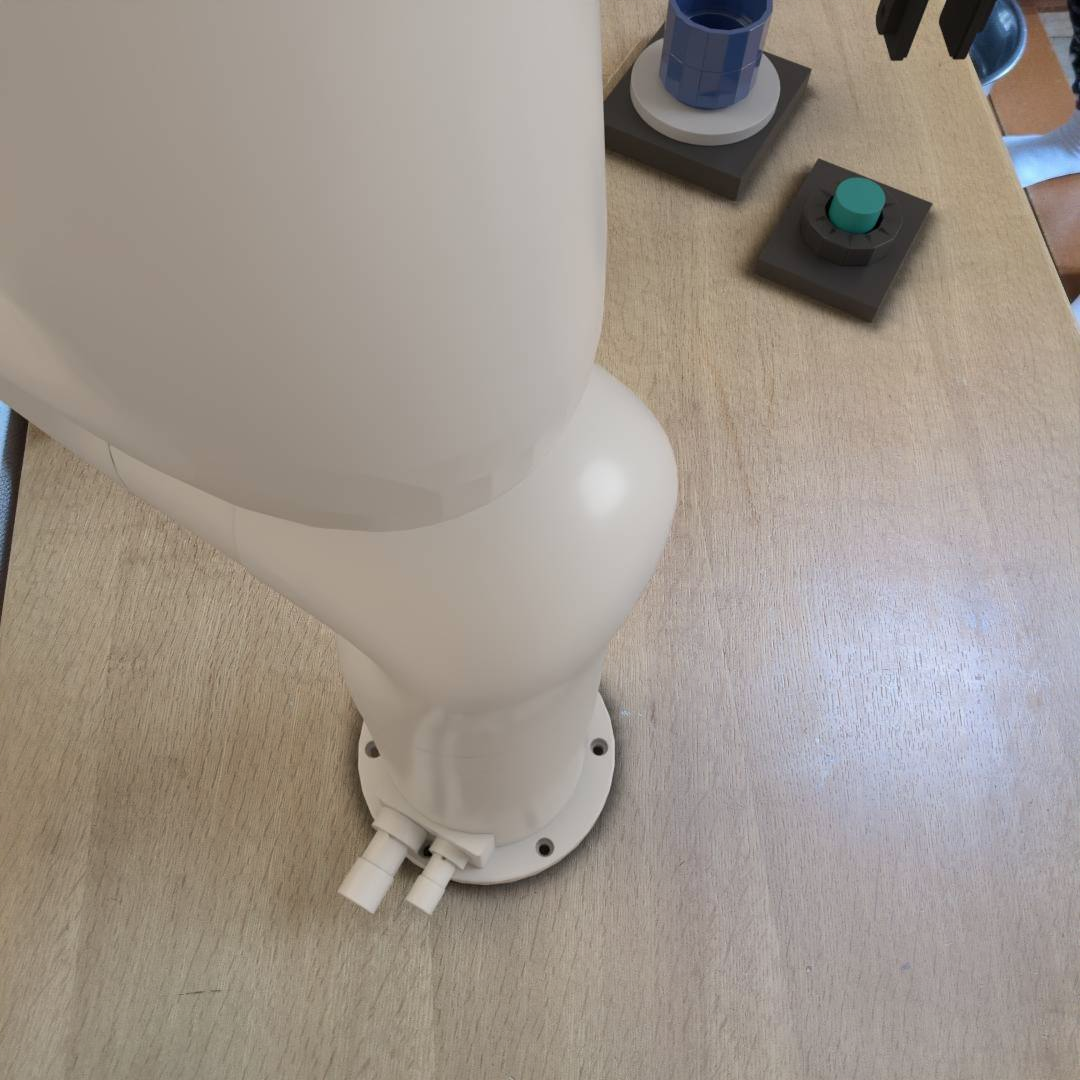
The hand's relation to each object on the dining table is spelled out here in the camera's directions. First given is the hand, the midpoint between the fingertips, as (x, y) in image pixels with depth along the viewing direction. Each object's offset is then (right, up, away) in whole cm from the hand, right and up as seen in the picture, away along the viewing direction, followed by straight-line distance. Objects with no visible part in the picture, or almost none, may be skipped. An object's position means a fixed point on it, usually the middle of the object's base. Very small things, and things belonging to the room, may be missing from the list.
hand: (922, 39), depth 53 cm
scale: (-9, +4, +19) cm, 21 cm away
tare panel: (0, -7, +14) cm, 15 cm away
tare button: (0, -6, +11) cm, 13 cm away
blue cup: (-9, +5, +16) cm, 19 cm away
